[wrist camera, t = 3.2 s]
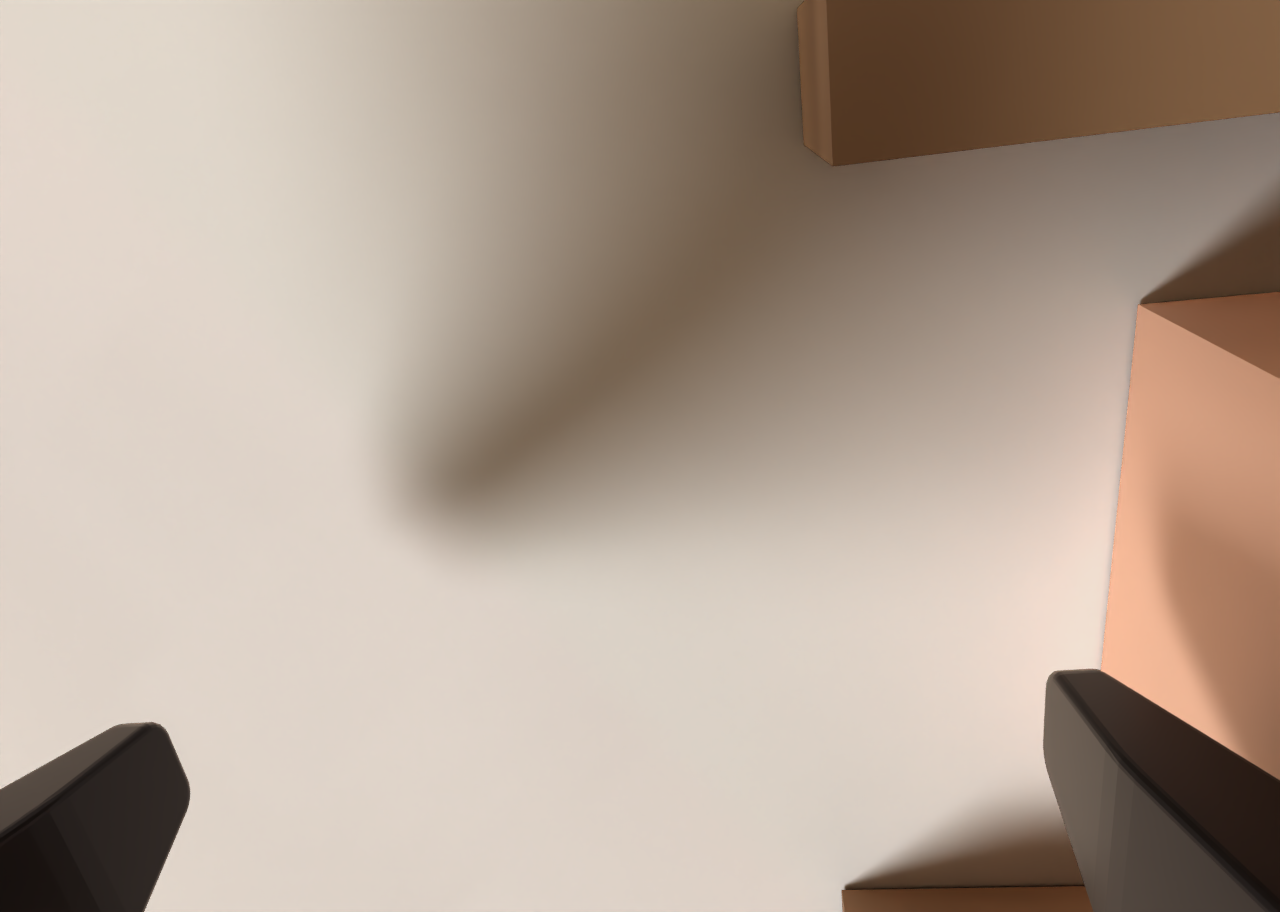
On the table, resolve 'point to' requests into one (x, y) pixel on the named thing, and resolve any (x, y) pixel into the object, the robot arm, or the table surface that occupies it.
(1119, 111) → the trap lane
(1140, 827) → the robot arm
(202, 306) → the table surface
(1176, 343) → the terracotta block
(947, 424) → the table surface
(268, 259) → the table surface
